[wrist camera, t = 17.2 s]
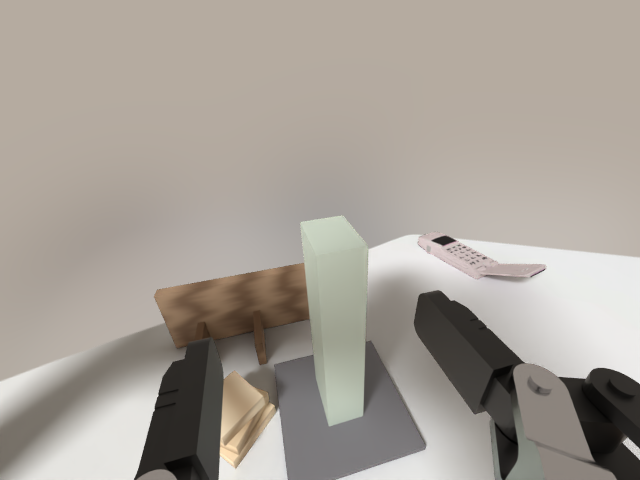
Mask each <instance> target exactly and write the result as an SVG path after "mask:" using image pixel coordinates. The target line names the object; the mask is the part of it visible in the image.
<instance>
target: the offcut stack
mask: <svg viewBox="0 0 640 480" xmlns="http://www.w3.org/2000/svg"><path fill="white" fill-rule="evenodd" d="M275 413H276V410H275V406H274V405H273V404H271V403H270V402H269V396H268V392H266V391H264V390H261V389H258V388H255V387H253V386H251V385H250V384H249V383H248V382H247V381H246V380H245V379H244V378H242V377H241V376H240V375H239V374H238V373H237V372H236V371H235V370H234V371H233V372H232V373H231V374H230V375H228V376H227V377H226V378H225V379H224V384H223V403H222V421H221V440H220V456H221V457H222V458H224V459H225V460H226V461H227V462H228V463H229V464H231V465H232V466H233V467H234V468H235V469H236V468H237V466H238V465H239V464H240V462H241V461H242V459H243V458H244V457H245V455H246V454H247V452H248V451H249V449H250V448H251V447H252V445H253V444H254V442H255V441H256V440H257V438H258V437H259V435H260V434H261V432H262V431H263V430H264V428H265V427H266V425H267V424H268V423H269V421H270V420H271V418H272V417H273V416H274V414H275Z"/></svg>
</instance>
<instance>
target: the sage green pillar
mask: <svg viewBox="0 0 640 480" xmlns="http://www.w3.org/2000/svg"><path fill="white" fill-rule="evenodd" d="M300 226H301V235H302V245H303V255H304V265H305V275H306V285H307V295H308V305H309V315H310V325H311V335H312V345H313V355H314V365H315V375H316V381H317V384H318V388H319V392H320V396H321V399H322V403H323V407H324V410H325V414H326V418H327V422H328V425H329V426H333V425H336V424H339V423H342V422H345V421H349V420H352V419H355V418H358V417H362V416H363V406H364V373H365V340H366V307H367V275H368V245H367V244H366V243H365V241H364V240H363V239H362V238H361V237H360V235H359V234H358V233H357V232H356V231H355V230H354V228H353V227H352V226H351V225H350V224H349V222H348V221H347V220H346V219H345V218H344V217H343V216H336V217H330V218H323V219H317V220H311V221H304V222H300Z"/></svg>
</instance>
